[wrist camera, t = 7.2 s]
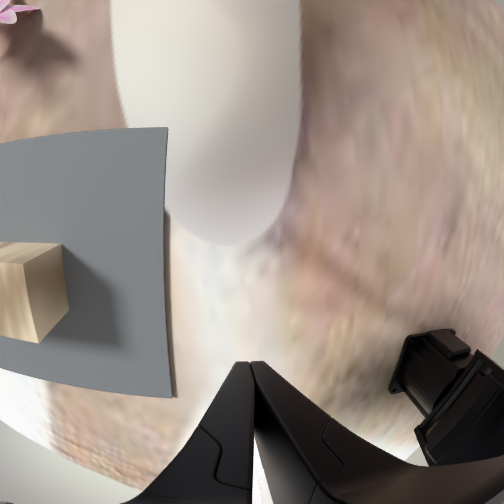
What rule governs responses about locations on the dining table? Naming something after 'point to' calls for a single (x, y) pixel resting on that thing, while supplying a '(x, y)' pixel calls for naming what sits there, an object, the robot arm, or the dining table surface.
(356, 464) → the robot arm
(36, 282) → the maple block
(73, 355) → the rubber mat
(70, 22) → the dining table surface
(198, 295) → the dining table surface
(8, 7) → the lily
